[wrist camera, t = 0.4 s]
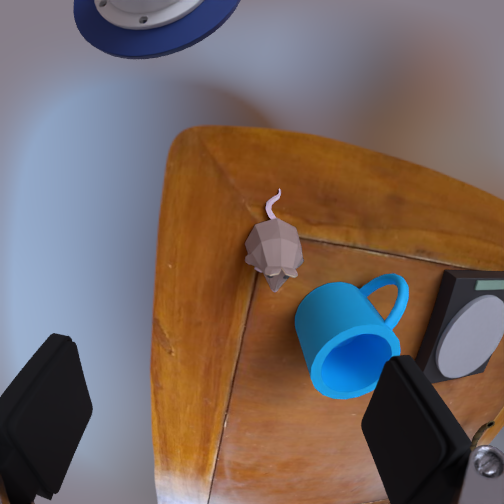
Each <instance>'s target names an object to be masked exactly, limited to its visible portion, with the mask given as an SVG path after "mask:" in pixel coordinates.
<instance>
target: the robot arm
mask: <svg viewBox="0 0 504 504" xmlns="http://www.w3.org/2000/svg"><path fill="white" fill-rule="evenodd" d="M203 1H204V0H94V2H95V5H96V8H97V10H98V11H99V13H100V14H101V15H102V17H104V18H105V19H106V20H107V21H108V22H110V23H112V24H113V25H115V26H118V27H121V28H124V29H131V30H146V29H152V28H157V27H161V26H164V25H167V24H170V23H173V22H175V21H177V20H179V19H181V18H183V17H184V16H186V15H187V14H189V13H190V12H192V11H193V10H194V9H196V8H197V7H198V6H199V5H200V4H201V3H202V2H203ZM145 21H147V22H146V23H144V22H145ZM143 23H144V24H143ZM92 410H93V408H92V402H91V399H90V396H89V392H88V389H87V385H86V382H85V378H84V374H83V370H82V366H81V362H80V358H79V354H78V349H77V345H76V343H75V342H72V339H71V338H70V337H69V336H65V335H60V334H55V333H53V334H51V335H50V336H49V337H48V338H47V340H46V341H45V342H44V343H43V344H42V346H41V347H40V348H39V349H38V350H37V351H36V353H35V354H34V355H33V357H32V358H31V359H30V360H29V361H28V362H27V364H26V365H25V366H24V367H23V368H22V370H21V371H20V372H19V373H18V375H17V376H16V377H15V379H14V380H13V381H12V382H11V384H10V385H9V386H8V388H7V389H6V390H5V391H4V393H3V394H2V395H1V397H0V504H35V503H34V499H35V496H36V494H37V495H39V496H41V497H44V498H46V499H49V500H51V499H52V496H53V494H56V493H58V492H59V490H60V488H61V485H62V482H63V480H64V477H65V475H66V473H67V470H68V468H69V465H70V463H71V461H72V458H73V456H74V453H75V451H76V449H77V447H78V444H79V442H80V440H81V437H82V435H83V433H84V431H85V428H86V426H87V424H88V422H89V419H90V417H91V415H92ZM361 427H362V431H363V434H364V436H365V439H366V441H367V444H368V446H369V449H370V451H371V454H372V456H373V459H374V462H375V464H376V467H377V469H378V472H379V474H380V477H381V480H382V482H383V485H384V488H385V490H386V493H387V496H388V498H389V501H390V504H504V454H503V452H502V451H500V450H499V449H498V448H496V447H493V446H490V445H481V446H478V447H476V448H475V449H474V450H473V451H471V449H470V446H471V445H472V442H471V441H470V439H469V438H468V436H467V435H466V433H465V432H464V430H463V429H462V427H461V426H460V424H459V423H458V421H457V420H456V418H455V417H454V415H453V414H452V412H451V411H450V410H449V408H448V407H447V405H446V404H445V402H444V401H443V400H442V398H441V397H440V395H439V394H438V393H437V391H436V390H435V388H434V387H433V386H432V384H431V383H430V381H429V380H428V379H427V377H426V376H425V375H424V373H423V372H422V370H421V369H420V368H419V366H418V365H417V364H416V362H415V361H414V360H413V358H412V357H411V356H410V355H401V356H392V357H391V358H390V360H389V361H386V363H385V364H384V367H383V370H382V372H381V375H380V378H379V380H378V383H377V385H376V388H375V390H374V393H373V395H372V398H371V400H370V403H369V405H368V407H367V410H366V412H365V414H364V417H363V419H362V423H361Z"/></svg>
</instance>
